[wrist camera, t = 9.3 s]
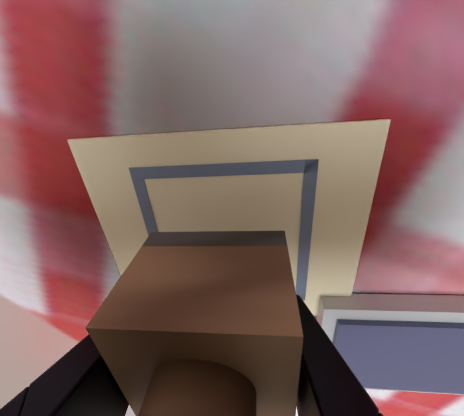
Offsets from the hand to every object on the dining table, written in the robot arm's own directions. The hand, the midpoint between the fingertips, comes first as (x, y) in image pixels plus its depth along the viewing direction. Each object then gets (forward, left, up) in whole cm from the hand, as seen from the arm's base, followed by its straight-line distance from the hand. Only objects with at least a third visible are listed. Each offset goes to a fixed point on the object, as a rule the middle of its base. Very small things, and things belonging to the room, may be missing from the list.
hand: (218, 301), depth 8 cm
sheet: (0, 0, -4) cm, 4 cm away
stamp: (0, 0, -1) cm, 1 cm away
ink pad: (-9, +7, -4) cm, 12 cm away
